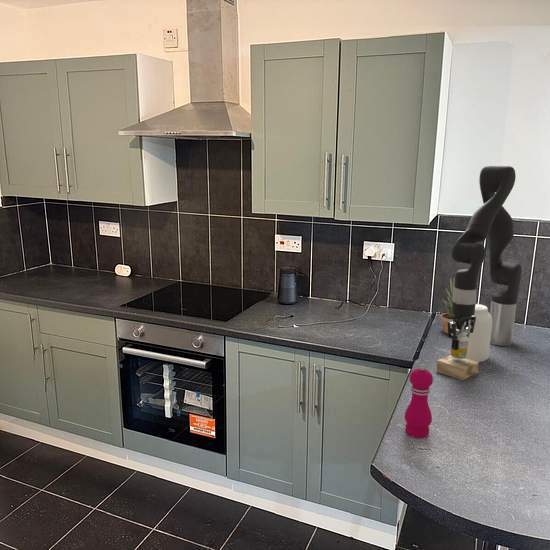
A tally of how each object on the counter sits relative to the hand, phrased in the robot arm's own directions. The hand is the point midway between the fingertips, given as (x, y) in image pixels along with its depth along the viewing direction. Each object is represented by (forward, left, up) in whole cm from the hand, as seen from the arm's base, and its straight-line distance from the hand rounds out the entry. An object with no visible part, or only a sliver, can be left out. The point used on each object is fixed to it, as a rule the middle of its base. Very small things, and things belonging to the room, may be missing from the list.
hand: (459, 347), depth 180 cm
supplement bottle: (0, 0, -4) cm, 4 cm away
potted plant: (-35, -25, -9) cm, 44 cm away
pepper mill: (+45, +16, -9) cm, 49 cm away
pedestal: (0, 0, -9) cm, 9 cm away
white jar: (-17, -5, -9) cm, 20 cm away
